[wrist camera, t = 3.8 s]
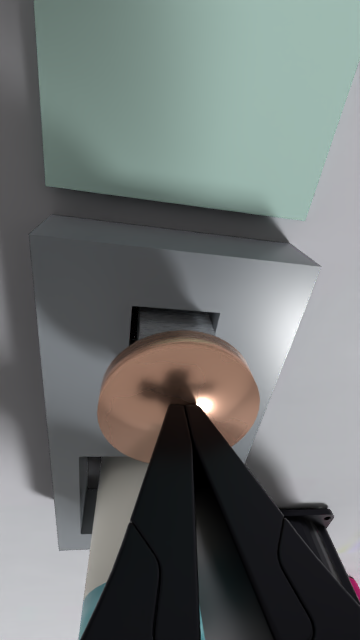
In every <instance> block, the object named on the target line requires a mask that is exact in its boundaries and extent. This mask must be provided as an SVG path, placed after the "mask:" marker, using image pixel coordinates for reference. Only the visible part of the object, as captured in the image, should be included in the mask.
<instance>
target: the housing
mask: <svg viewBox="0 0 360 640" xmlns="http://www.w3.org/2000/svg"><path fill="white" fill-rule="evenodd" d="M29 241H30V252H31V262H32V273H33V283H34V294H35V304H36V315H37V325H38V336H39V346H40V357H41V367H42V378H43V388H44V399H45V409H46V420H47V430H48V441H49V451H50V462H51V472H52V483H53V493H54V504H55V514H56V525H57V535H58V546H59V551H63V550H87V549H90V546H91V538H92V530H93V522H94V514H95V507H96V499H97V491H98V489H96V490H88V465H87V457H129V456H126V455H125V454H123V453H121V452H120V451H118V450H117V449H116V448H114V447H113V446H112V445H111V444H110V443H109V442H108V441H107V439H106V438H105V437H104V435H103V433H102V431H101V429H100V427H99V423H98V419H97V408H98V401H99V395H100V389H101V383H102V380H103V376H104V374H105V372H106V370H107V368H108V366H109V365H110V363H111V362H112V361H113V359H114V358H115V357H116V356H117V355H118V354H119V353H120V352H122V351H123V350H124V349H125V348H127V347H128V346H130V345H131V344H133V343H134V342H136V339H129V337H130V325H131V312H132V306H140V307H153V308H165V309H178V310H190V311H202V312H208V315H209V318H210V321H211V324H212V326H213V329H214V332H215V335H216V337H219V338H221V339H223V340H225V341H226V342H228V343H229V344H231V345H232V346H233V347H235V348H236V349H237V350H238V351H239V352H240V353H241V355H242V356H243V357H244V359H245V360H246V362H247V365H248V367H249V369H250V371H251V373H252V376H253V378H254V380H255V382H256V384H257V387H258V390H259V395H260V406H259V411H258V415H257V417H256V420H255V422H254V424H253V425H252V427H251V428H250V430H249V431H248V432H247V433H246V435H245V436H244V437H243V438H242V439H241V440H240V441H239V442H237V443H236V444H235V445H233V446H232V448H233V450H234V451H235V452H236V454H237V455H238V456H239V458H240V459H241V460H242V462H243V463H244V464H245V461H246V459H247V456H248V454H249V451H250V449H251V446H252V444H253V441H254V438H255V436H256V433H257V431H258V428H259V426H260V423H261V421H262V418H263V416H264V413H265V410H266V408H267V405H268V403H269V400H270V398H271V395H272V393H273V390H274V387H275V385H276V382H277V380H278V377H279V375H280V372H281V370H282V367H283V364H284V362H285V359H286V357H287V354H288V352H289V349H290V347H291V344H292V341H293V339H294V336H295V334H296V331H297V329H298V326H299V324H300V321H301V319H302V316H303V313H304V311H305V308H306V306H307V303H308V301H309V298H310V296H311V293H312V290H313V288H314V285H315V283H316V280H317V278H318V275H319V273H320V270H321V266H320V265H319V264H317V263H316V262H315V261H313V260H312V259H311V258H309V257H308V256H307V255H305V254H304V253H303V252H301V251H300V250H298V249H297V248H296V247H294V246H293V245H292V244H288V243H280V242H272V241H264V240H256V239H247V238H239V237H231V236H223V235H215V234H206V233H198V232H190V231H182V230H174V229H165V228H157V227H149V226H141V225H132V224H124V223H116V222H108V221H100V220H91V219H83V218H75V217H67V216H59V215H50V216H49V217H48V218H47V219H46V220H45V221H43V222H42V223H41V224H40V225H39V226H38V227H37V228H35V229H34V230H33V231H32V232H31V233H30V234H29Z"/></svg>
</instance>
